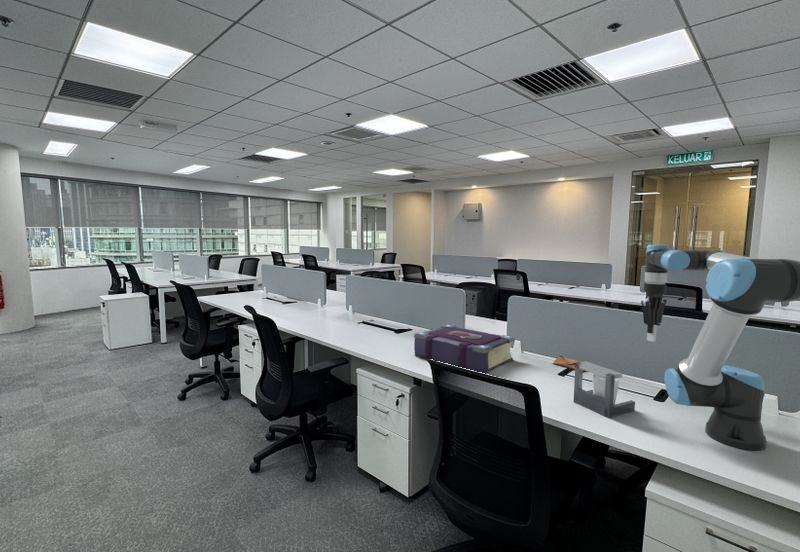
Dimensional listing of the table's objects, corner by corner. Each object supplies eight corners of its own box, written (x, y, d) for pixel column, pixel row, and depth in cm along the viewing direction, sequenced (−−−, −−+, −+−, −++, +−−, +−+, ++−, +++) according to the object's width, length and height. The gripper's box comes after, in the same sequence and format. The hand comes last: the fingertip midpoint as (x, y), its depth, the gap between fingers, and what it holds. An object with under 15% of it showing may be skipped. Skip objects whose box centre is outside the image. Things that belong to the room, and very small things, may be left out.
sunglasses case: (549, 363, 202) (554, 351, 204) (555, 368, 206) (560, 356, 208) (583, 373, 188) (587, 360, 189) (589, 378, 192) (593, 365, 193)
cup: (590, 408, 148) (592, 378, 147) (591, 400, 156) (593, 371, 155) (617, 414, 144) (619, 383, 143) (617, 405, 152) (619, 375, 151)
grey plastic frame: (599, 395, 161) (601, 358, 159) (635, 410, 147) (637, 370, 145) (573, 401, 155) (575, 363, 153) (608, 418, 141) (611, 375, 139)
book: (482, 376, 184) (483, 347, 183) (411, 356, 214) (411, 331, 213) (514, 360, 209) (515, 334, 207) (446, 344, 239) (446, 322, 237)
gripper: (655, 281, 160) (651, 337, 162) (635, 282, 154) (631, 340, 156) (675, 283, 153) (670, 341, 155) (654, 284, 147) (650, 344, 150)
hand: (651, 340), depth 156 cm, fingers closed
